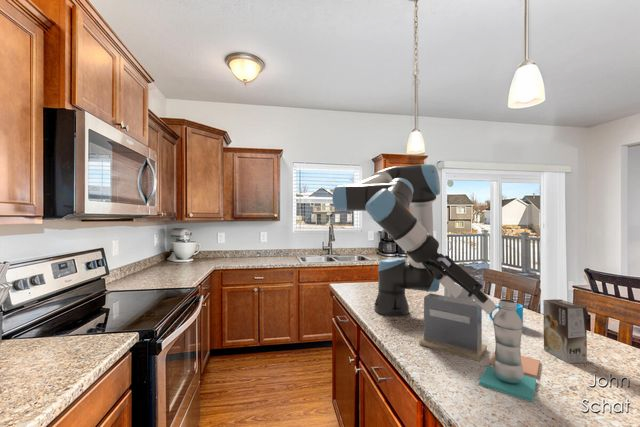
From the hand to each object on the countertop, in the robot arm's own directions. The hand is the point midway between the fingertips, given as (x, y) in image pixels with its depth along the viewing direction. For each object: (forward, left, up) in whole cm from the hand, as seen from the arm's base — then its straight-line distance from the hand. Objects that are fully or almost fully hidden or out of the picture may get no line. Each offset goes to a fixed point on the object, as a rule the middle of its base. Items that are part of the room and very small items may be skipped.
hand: (473, 301), depth 75 cm
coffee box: (+18, +35, -21) cm, 45 cm away
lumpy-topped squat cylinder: (-23, +75, -21) cm, 81 cm away
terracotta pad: (+7, +19, -21) cm, 29 cm away
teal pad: (+7, +6, -21) cm, 23 cm away
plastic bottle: (+7, +6, -20) cm, 22 cm away
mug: (0, +54, -21) cm, 58 cm away
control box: (-10, +19, -21) cm, 30 cm away
